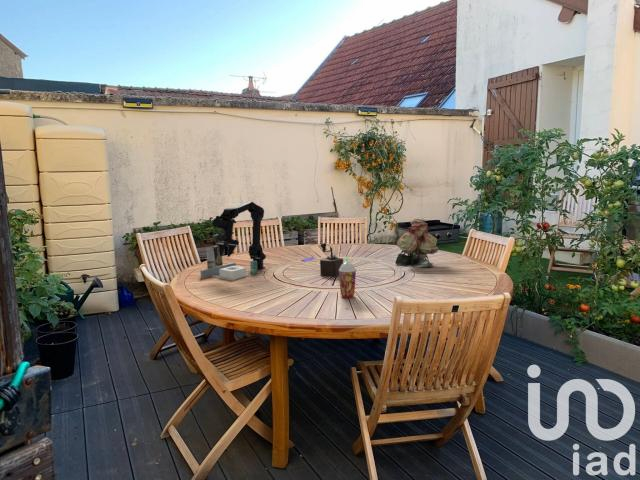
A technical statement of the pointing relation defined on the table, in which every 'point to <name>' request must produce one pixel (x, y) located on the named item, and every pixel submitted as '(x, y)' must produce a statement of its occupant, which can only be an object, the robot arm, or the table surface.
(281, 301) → the table surface
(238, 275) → the socket block
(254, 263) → the dowel
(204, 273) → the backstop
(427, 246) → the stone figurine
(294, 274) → the table surface
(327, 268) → the black box with stems
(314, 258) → the booklet
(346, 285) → the smoothie
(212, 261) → the coffee box
